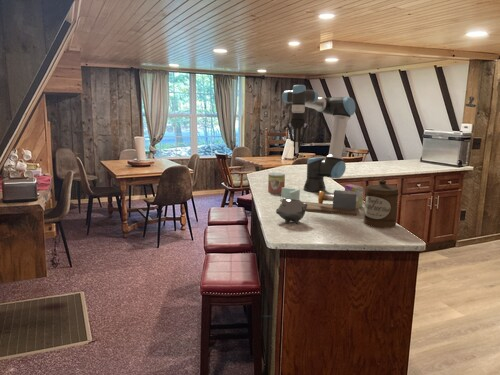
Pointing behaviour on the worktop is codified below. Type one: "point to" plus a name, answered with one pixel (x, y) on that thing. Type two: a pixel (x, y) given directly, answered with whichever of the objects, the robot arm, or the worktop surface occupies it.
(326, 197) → the shaft
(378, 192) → the wooden container
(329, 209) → the base board
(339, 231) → the worktop surface
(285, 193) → the l-shaped corner panel
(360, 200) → the box
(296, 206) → the piggy bank
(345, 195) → the housing
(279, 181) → the canned food
